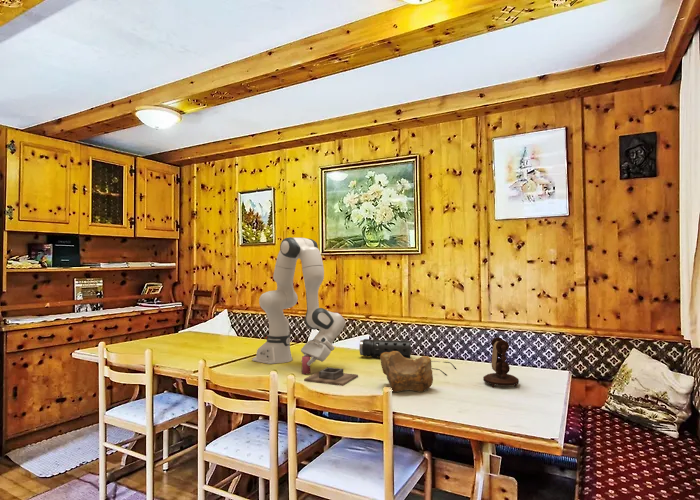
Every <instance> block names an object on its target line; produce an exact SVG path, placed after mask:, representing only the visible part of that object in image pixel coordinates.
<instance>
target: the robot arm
mask: <svg viewBox="0 0 700 500" xmlns="http://www.w3.org/2000/svg"><path fill="white" fill-rule="evenodd" d="M318 245H319V244H318V243H317V242H316V240H314V239H311V238H306V237H285V238H284V239H282V240H281V242H280V245H279V249H280V250H279V252H278V254H277V257H276V260H275V265H274V271H273V277H272V278H273V281H275V282H276V290H275V289H274V290H269V291H265V292H263V293H262V294H260V296H259V298H258V303H259V307H260V308H261V309H262V310H263V311H264V312H265V314H266V317H267V320H268V332H269V333H268V335H266V336H265V338H264V340H266V341H265V342H264V343H263V344H262V345H260V346H259V347H258V348H257V349H256V355H255V356H254V357H253V358H252V359H251V361H252V362H257V363H263V364H268V365H274V364H283V363H289V362H291V361H293V357H292V352H291V351H292V350H291V334H290V320H289V319H288V318H287V317H286V316H285V313H284V310H287V309H291V308H293V307H294V306H296V304H297V303H298V300H299V299H298V298H299V297H298V294H297V292H296V290H295V289H294V279H295V272H296V267H297V261H298V259H299V260H300V262H301V270H302V275H303V281H304V282H303V283H304V288H305V298H306V299H305V300H306V313H305V316H304V323H305V325H306V327H307V328H309V329H310V330H313V331H314V330H315V331H316V330H318V329H319V330H318V332H317V333H316V334H315V336H314V338H313V339H311V340H308V341H307V342H306V343H305V344H304V345H303V346H302V347H301V349H300V352H301V353H302V354H303V356H310V360H309V361H307V363H306V364H307V365H308V366H310V367H311V366H312V364H313V363H314V362H316V361H319V362H320V363H321V362H324V361H326V359H327V358H328V357H329V356H330V354H331V353H332V352H333V351H334V350H335V346H334V344H333V343H334V341H335V339H336V338H337V337H338V336H339V335H340V333H341V332H342V331H343V330H344V328H345V325H346V320H345V318H344V316H342V314H340V313H339V312H333V311H330V310H327V309H326V308H322V307H320V306H319V305H320V304H319V289H320V287H321V285H322V283H323V281H324V279H325V278H324V277H325V268H324V262H323V257H322V254H321V251H320V249H319V246H318ZM301 363H302V360H301Z"/></svg>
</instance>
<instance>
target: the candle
mask: <svg viewBox="0 0 700 500" xmlns="http://www.w3.org/2000/svg"><path fill="white" fill-rule="evenodd" d="M310 359H311V357H310V356H304V355H303V356H302V357H301V361H302V362H301V374H302V375H310V374H311V365H310V366H308V365H307V364H306V363H307V361H309V360H310Z"/></svg>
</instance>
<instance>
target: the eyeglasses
mask: <svg viewBox="0 0 700 500" xmlns="http://www.w3.org/2000/svg"><path fill="white" fill-rule="evenodd" d="M433 362H434V363H440V361H437V360H431V363H433ZM443 363H446V364H451V366H452V367H453V368H454V369H455V370H457V368H456V366H454V364H453V363H452V362H449V361H443ZM431 369H432V370H437V371H440V372H441V373H442V374H444V375H445V376H448V374H447V373H445V372H444V371H442V370H441V369H439V368H433V367H431Z"/></svg>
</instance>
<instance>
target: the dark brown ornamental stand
mask: <svg viewBox="0 0 700 500" xmlns="http://www.w3.org/2000/svg"><path fill="white" fill-rule="evenodd" d="M491 347H492V351H491V369H492V370H493V371H494V372H493V373H487V374H485V375H483V379H482V380H483V381H484V383H487V384H490V385H491V387H492V388H495V386H502V387H503V386H504V387H509V386H510V387H511V386H514V388H517V386H518V384H519V383H520V379H519V378H518V377H516V376H514V375H512V374H509V372H510V370H511V369H510V365H509V363H508V362H507V356H506V355H507V354H506V353H507V352H508V351H509V349H510V344H509V342H508V341H507V340H504V339H503V338H501V337H499V336H496V337H494V338H493V339H492V341H491Z"/></svg>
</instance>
